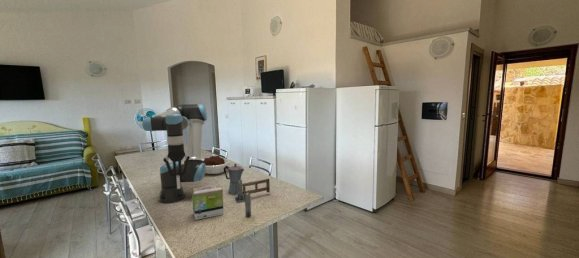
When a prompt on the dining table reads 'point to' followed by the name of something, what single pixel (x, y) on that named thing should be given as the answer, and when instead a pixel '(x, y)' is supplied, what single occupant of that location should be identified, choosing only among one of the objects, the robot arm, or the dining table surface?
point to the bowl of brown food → (215, 165)
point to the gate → (256, 186)
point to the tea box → (207, 201)
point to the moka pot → (234, 177)
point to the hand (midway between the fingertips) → (178, 187)
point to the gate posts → (242, 199)
